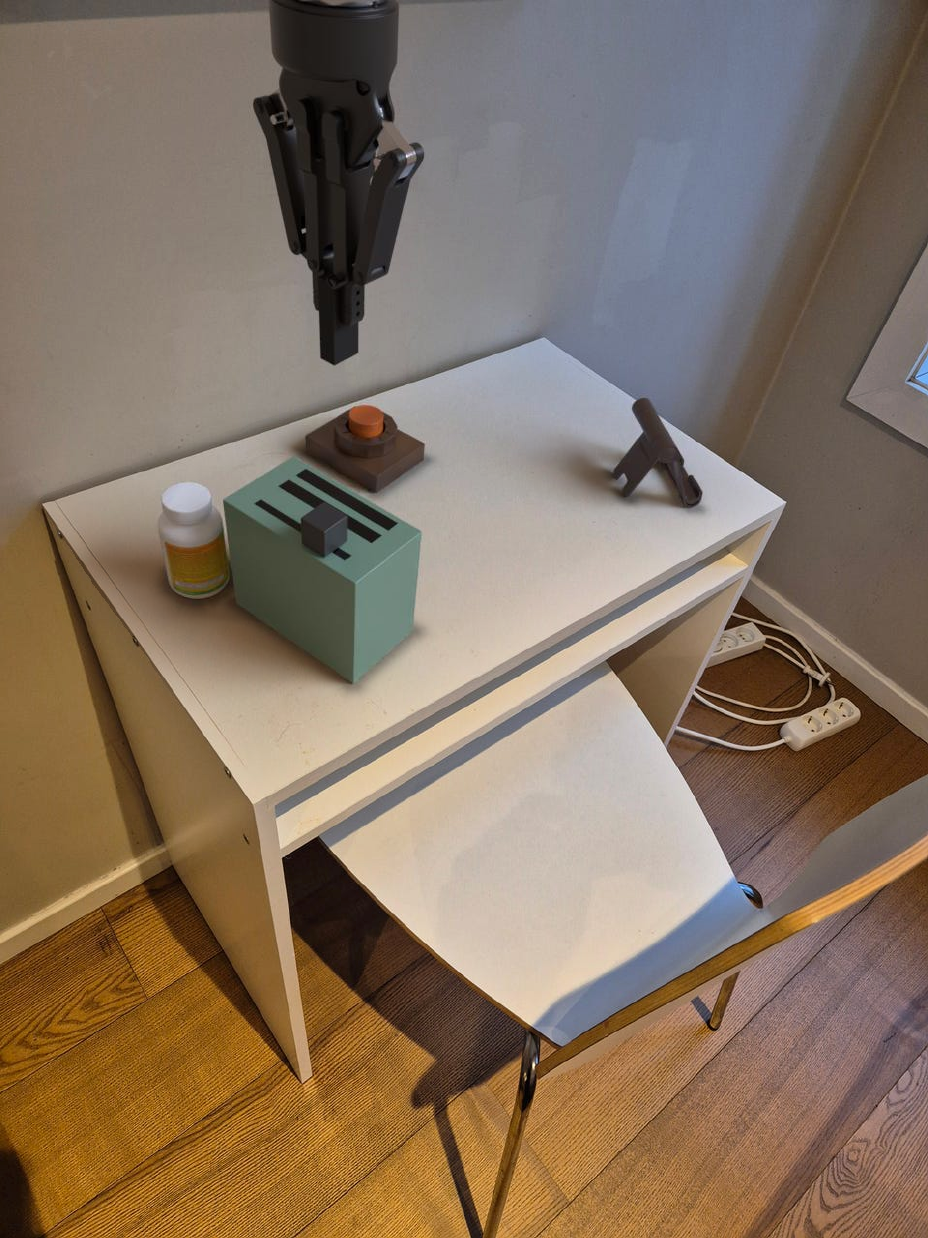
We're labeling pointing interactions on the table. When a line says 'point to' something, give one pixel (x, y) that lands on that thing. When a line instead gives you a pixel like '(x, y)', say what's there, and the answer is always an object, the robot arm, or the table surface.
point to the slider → (324, 529)
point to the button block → (365, 451)
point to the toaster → (323, 568)
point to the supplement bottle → (193, 541)
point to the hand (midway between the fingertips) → (339, 355)
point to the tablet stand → (656, 456)
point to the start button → (366, 421)
